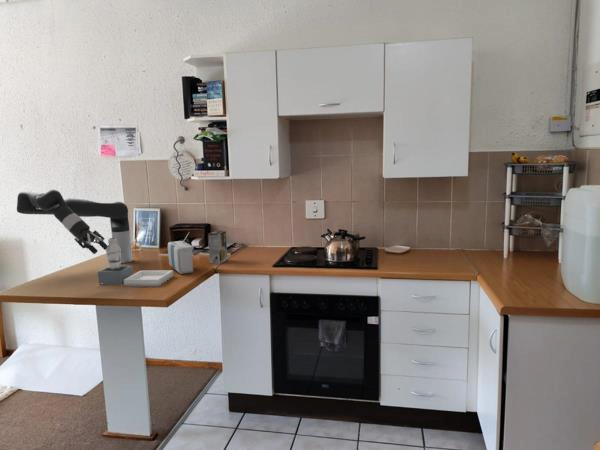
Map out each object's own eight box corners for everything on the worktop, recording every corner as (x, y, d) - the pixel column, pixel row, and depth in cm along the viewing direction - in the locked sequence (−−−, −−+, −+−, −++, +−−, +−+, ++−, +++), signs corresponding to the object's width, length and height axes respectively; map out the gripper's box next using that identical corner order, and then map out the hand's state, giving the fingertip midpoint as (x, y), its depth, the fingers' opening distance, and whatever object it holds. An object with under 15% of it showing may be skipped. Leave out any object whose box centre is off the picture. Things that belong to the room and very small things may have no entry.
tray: (124, 286, 189) (123, 279, 188) (141, 276, 204) (140, 270, 204) (159, 286, 187) (158, 279, 187) (173, 276, 203) (173, 270, 202)
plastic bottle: (108, 284, 193) (104, 240, 190) (108, 280, 199) (104, 238, 196) (124, 282, 196) (120, 239, 193) (123, 278, 202) (119, 236, 199)
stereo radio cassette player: (168, 267, 223) (165, 229, 220) (184, 264, 227) (181, 227, 224) (178, 275, 205) (175, 234, 202) (195, 272, 209) (192, 232, 206)
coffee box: (217, 259, 236) (215, 230, 234) (227, 260, 234) (226, 230, 232) (209, 263, 227) (207, 233, 225) (220, 263, 226) (218, 233, 223)
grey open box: (99, 284, 193) (97, 271, 192) (110, 278, 203) (109, 266, 202) (122, 284, 192) (121, 271, 191) (133, 278, 202) (132, 265, 201)
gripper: (80, 228, 202) (105, 252, 202) (60, 233, 188) (87, 259, 188) (90, 217, 201) (115, 241, 201) (70, 222, 187) (97, 248, 187)
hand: (101, 250), depth 195 cm, fingers open, 8 cm apart
